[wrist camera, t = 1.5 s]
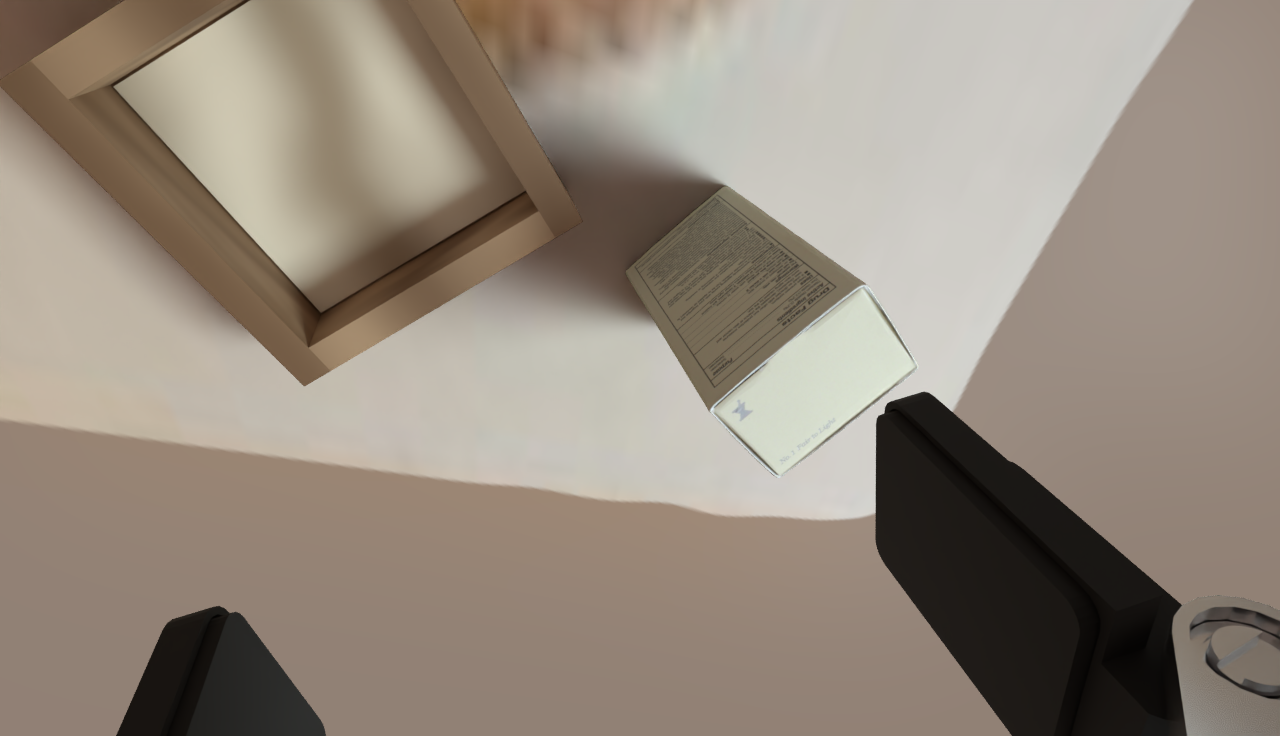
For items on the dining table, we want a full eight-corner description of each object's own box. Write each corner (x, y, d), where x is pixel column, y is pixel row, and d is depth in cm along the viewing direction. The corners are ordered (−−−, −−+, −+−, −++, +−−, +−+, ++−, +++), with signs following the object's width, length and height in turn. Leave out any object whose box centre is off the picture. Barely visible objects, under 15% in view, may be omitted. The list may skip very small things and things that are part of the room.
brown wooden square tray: (376, -135, 22) (362, -153, 19) (567, 191, 29) (582, 221, 26) (62, 65, 23) (-5, 82, 20) (321, 338, 30) (304, 386, 26)
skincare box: (675, 329, 34) (773, 488, 23) (619, 267, 31) (700, 414, 21) (777, 244, 33) (926, 372, 22) (727, 175, 30) (868, 281, 20)
